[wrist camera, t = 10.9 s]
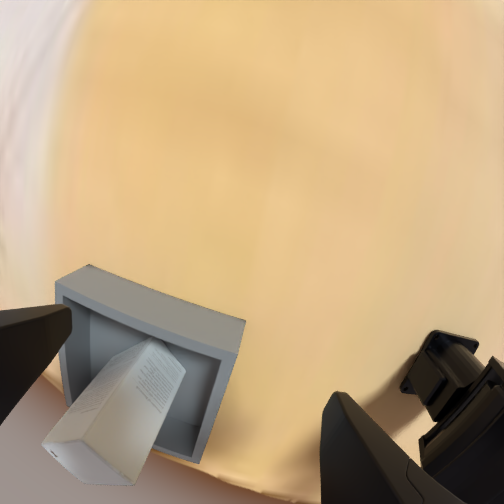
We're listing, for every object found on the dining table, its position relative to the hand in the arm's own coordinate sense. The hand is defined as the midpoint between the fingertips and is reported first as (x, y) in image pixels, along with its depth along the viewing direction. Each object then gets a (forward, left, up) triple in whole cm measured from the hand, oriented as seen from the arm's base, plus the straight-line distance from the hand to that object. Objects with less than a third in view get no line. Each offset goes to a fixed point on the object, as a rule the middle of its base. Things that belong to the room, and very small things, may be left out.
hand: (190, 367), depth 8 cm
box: (+5, +11, -12) cm, 17 cm away
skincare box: (+5, +11, -12) cm, 17 cm away
